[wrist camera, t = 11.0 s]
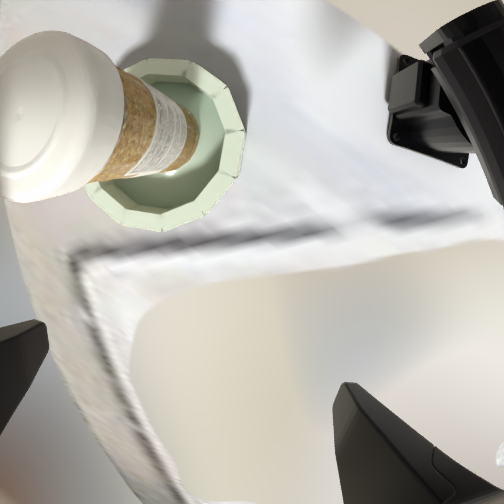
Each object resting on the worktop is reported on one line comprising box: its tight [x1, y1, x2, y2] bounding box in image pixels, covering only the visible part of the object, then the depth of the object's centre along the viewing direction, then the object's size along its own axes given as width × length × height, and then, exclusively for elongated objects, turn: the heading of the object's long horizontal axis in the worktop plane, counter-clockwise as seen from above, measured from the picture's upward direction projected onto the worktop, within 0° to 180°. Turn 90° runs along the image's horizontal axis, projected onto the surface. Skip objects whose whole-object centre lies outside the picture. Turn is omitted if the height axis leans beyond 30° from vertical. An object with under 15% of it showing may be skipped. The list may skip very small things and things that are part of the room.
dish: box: [85, 58, 246, 232], centre depth 18 cm, size 10×10×2 cm
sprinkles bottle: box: [0, 31, 199, 203], centre depth 12 cm, size 5×5×13 cm
